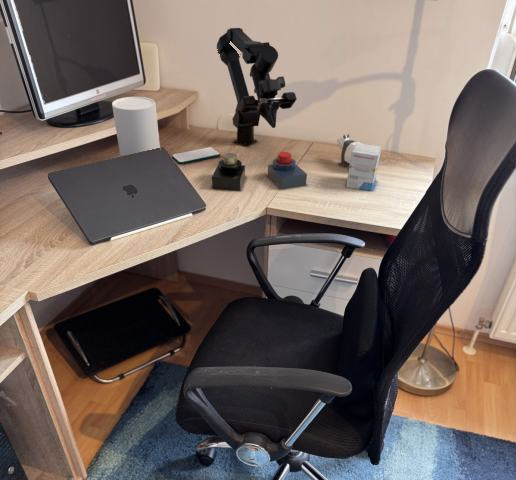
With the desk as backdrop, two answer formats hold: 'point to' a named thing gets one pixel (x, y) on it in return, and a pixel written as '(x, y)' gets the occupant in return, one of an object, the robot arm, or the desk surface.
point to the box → (286, 175)
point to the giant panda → (346, 149)
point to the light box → (228, 176)
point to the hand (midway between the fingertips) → (274, 127)
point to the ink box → (363, 166)
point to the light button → (230, 159)
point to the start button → (284, 158)
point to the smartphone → (195, 155)
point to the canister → (136, 124)
